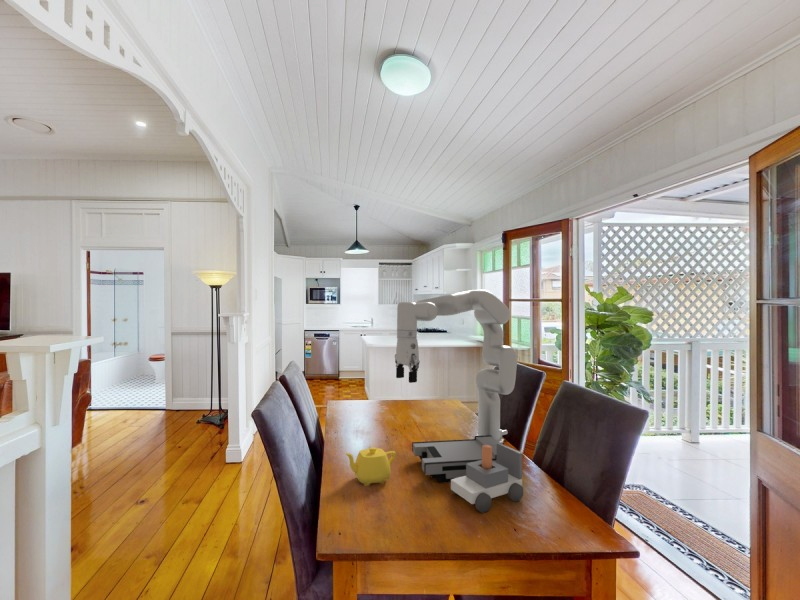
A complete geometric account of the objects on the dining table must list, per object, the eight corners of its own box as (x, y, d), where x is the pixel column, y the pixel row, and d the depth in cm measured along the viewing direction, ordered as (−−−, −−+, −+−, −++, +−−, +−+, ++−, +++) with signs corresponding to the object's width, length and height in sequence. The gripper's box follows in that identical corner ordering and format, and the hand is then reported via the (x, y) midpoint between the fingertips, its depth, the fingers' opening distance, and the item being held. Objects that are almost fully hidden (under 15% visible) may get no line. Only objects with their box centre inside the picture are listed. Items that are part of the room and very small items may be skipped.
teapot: (347, 492, 119) (348, 457, 119) (340, 477, 129) (341, 445, 129) (401, 483, 125) (401, 451, 125) (390, 469, 135) (390, 439, 135)
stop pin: (487, 476, 119) (487, 444, 119) (493, 480, 116) (494, 447, 116) (479, 478, 117) (480, 445, 118) (486, 482, 115) (486, 449, 115)
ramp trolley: (495, 481, 127) (496, 441, 128) (525, 498, 116) (526, 454, 116) (447, 495, 118) (448, 451, 118) (475, 515, 106) (476, 467, 106)
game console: (412, 460, 144) (412, 439, 145) (490, 455, 150) (490, 435, 150) (425, 486, 124) (425, 461, 124) (515, 479, 130) (515, 455, 130)
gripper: (427, 336, 137) (426, 383, 137) (404, 332, 152) (403, 375, 152) (409, 336, 133) (408, 385, 133) (387, 333, 149) (387, 376, 148)
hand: (406, 379), depth 143 cm, fingers open, 9 cm apart
